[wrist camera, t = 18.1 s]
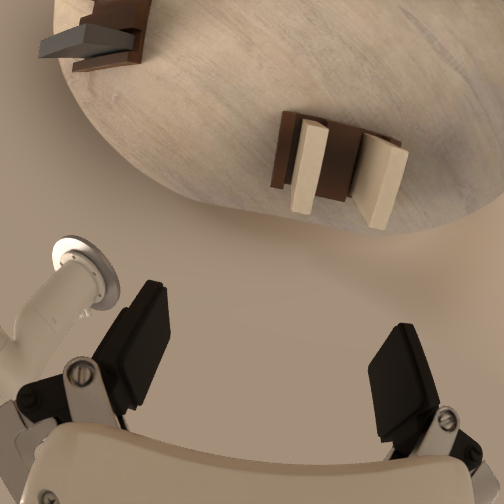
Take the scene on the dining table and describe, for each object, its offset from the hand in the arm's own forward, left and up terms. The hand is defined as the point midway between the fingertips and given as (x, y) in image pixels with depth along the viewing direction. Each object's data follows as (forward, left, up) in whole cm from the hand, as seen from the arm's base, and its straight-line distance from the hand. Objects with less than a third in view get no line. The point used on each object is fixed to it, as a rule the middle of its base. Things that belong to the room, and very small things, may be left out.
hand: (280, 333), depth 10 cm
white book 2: (+3, -9, -26) cm, 27 cm away
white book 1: (+3, -1, -26) cm, 26 cm away
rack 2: (+3, -5, -27) cm, 27 cm away
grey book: (+16, +26, -26) cm, 40 cm away
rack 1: (+20, +26, -27) cm, 42 cm away
